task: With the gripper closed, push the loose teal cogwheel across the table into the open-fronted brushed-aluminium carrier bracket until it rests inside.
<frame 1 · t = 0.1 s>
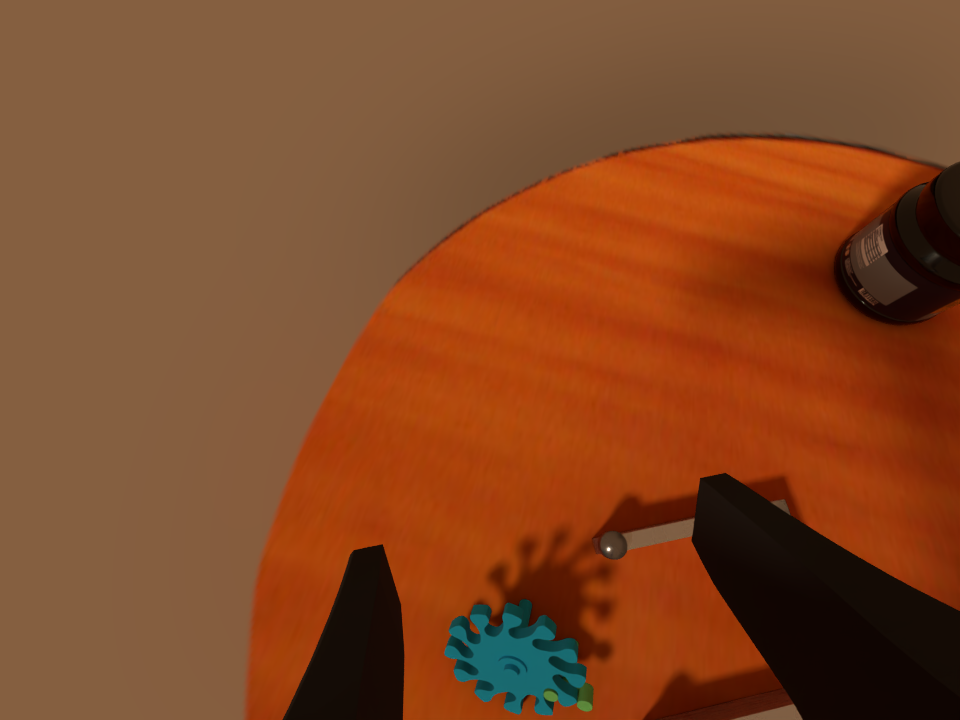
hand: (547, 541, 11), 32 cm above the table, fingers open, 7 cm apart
supplement container: (879, 282, 50), on the table
carrier bracket: (701, 615, 40), on the table
teal cogwheel: (515, 651, 39), on the table
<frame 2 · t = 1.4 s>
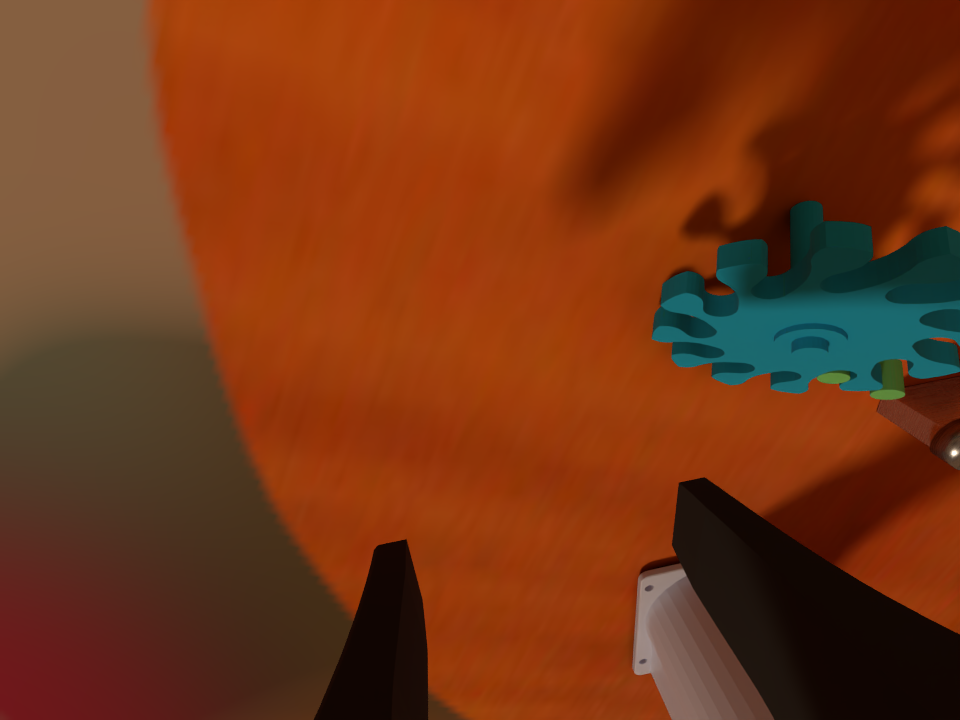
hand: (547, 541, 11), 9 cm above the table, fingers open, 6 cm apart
teal cogwheel: (745, 290, 20), on the table
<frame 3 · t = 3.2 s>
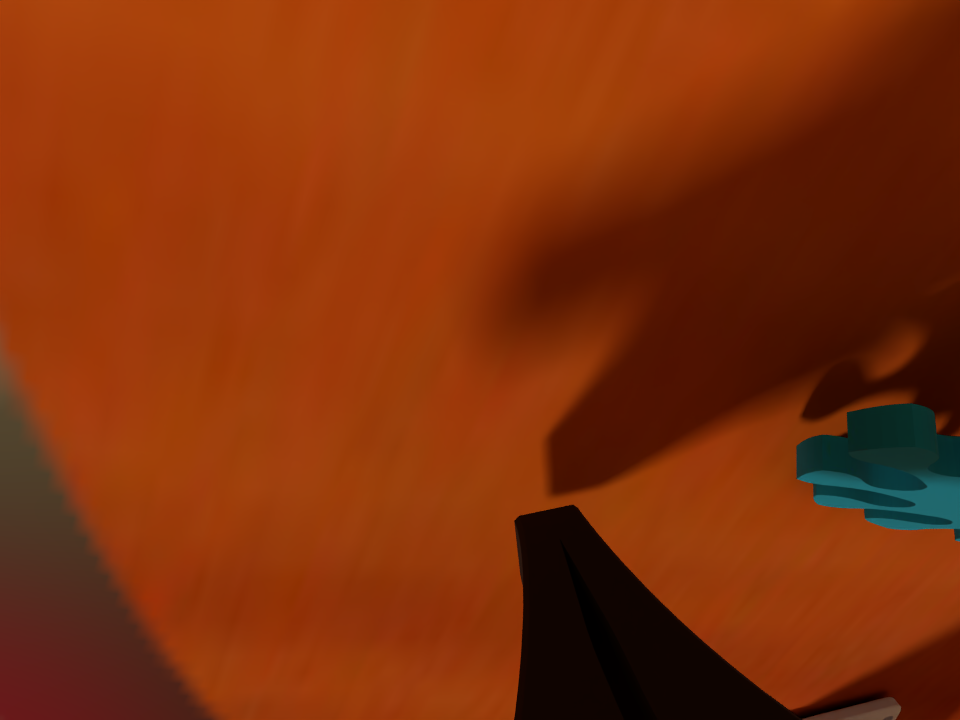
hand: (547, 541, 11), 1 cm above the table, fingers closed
teal cogwheel: (924, 393, 13), on the table
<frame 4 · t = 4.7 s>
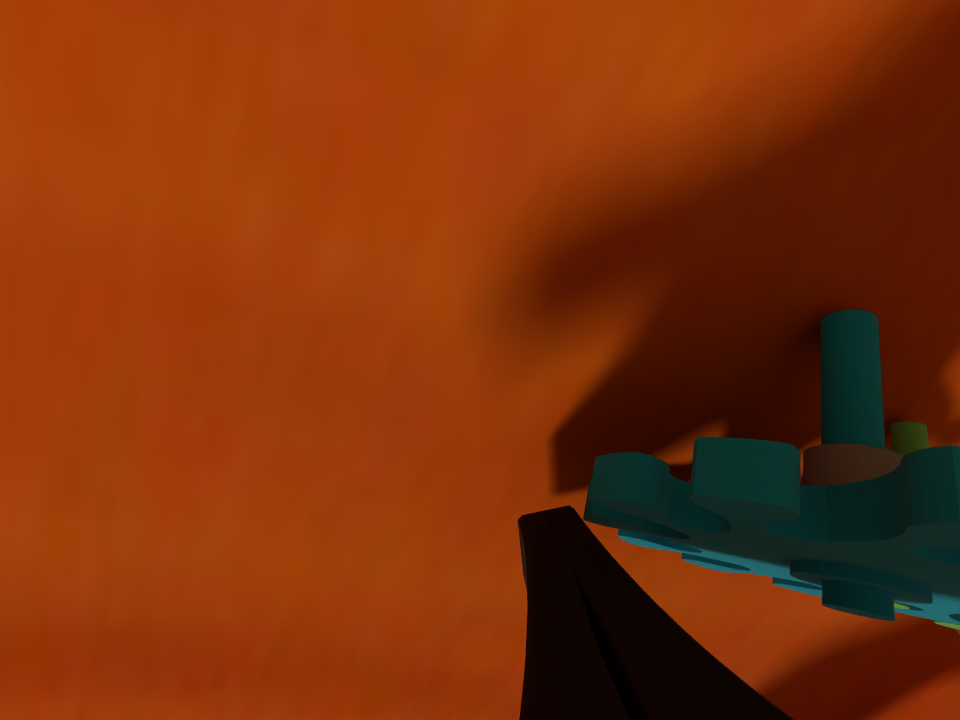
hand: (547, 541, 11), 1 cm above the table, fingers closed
teal cogwheel: (740, 431, 13), on the table, touching gripper
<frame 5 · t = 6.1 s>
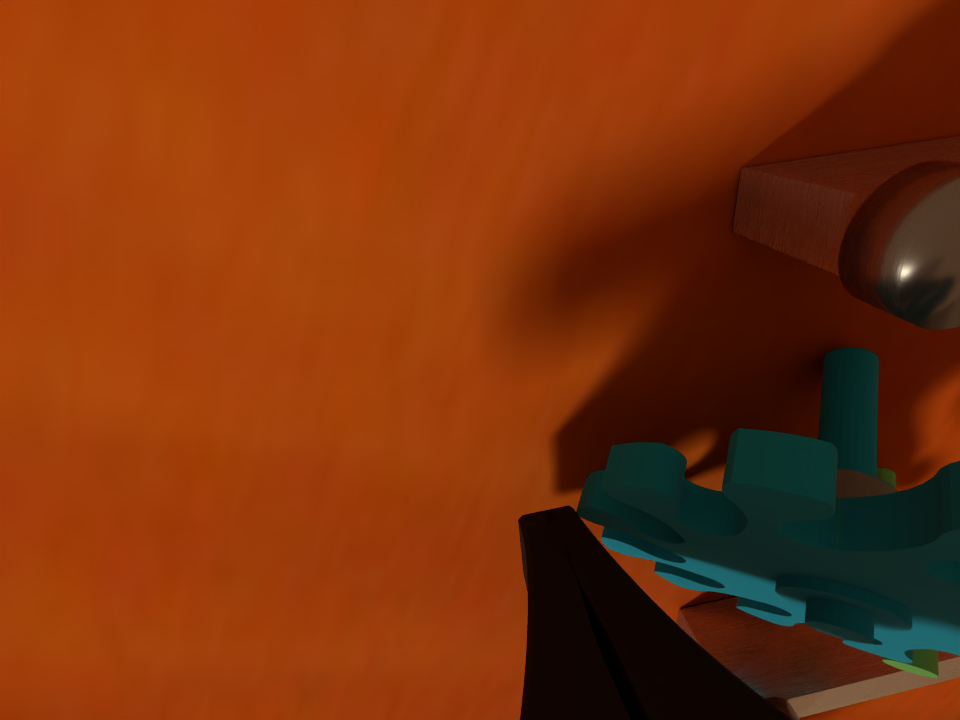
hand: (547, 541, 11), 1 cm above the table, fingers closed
carrier bracket: (945, 414, 13), on the table
teal cogwheel: (729, 453, 13), on the table, touching gripper
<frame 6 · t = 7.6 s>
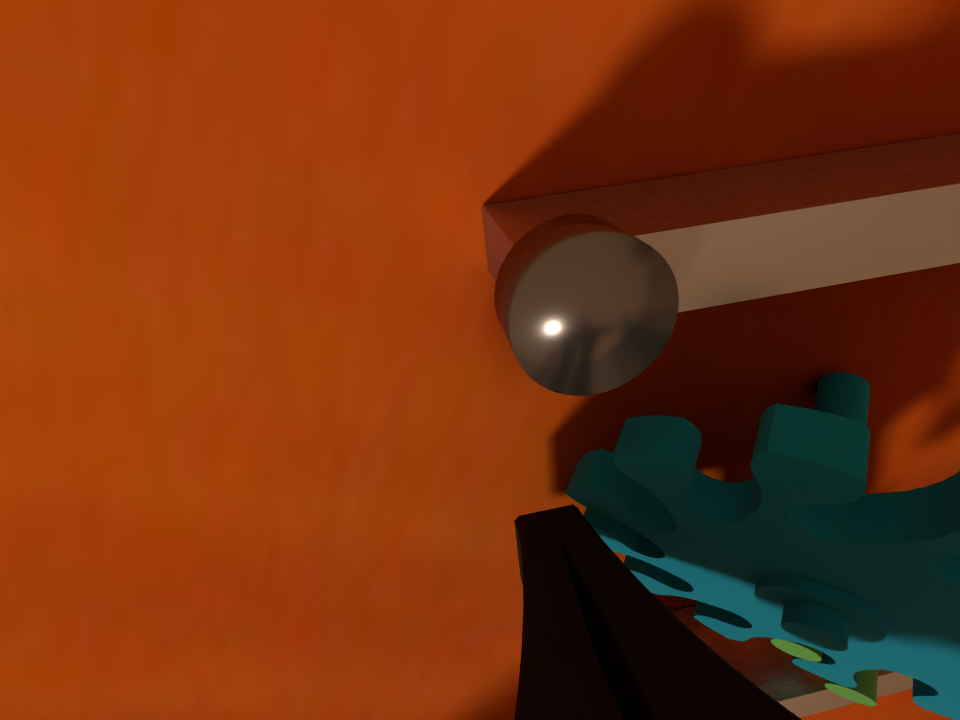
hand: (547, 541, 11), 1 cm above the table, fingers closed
carrier bracket: (776, 447, 13), on the table
teal cogwheel: (712, 462, 13), on the table
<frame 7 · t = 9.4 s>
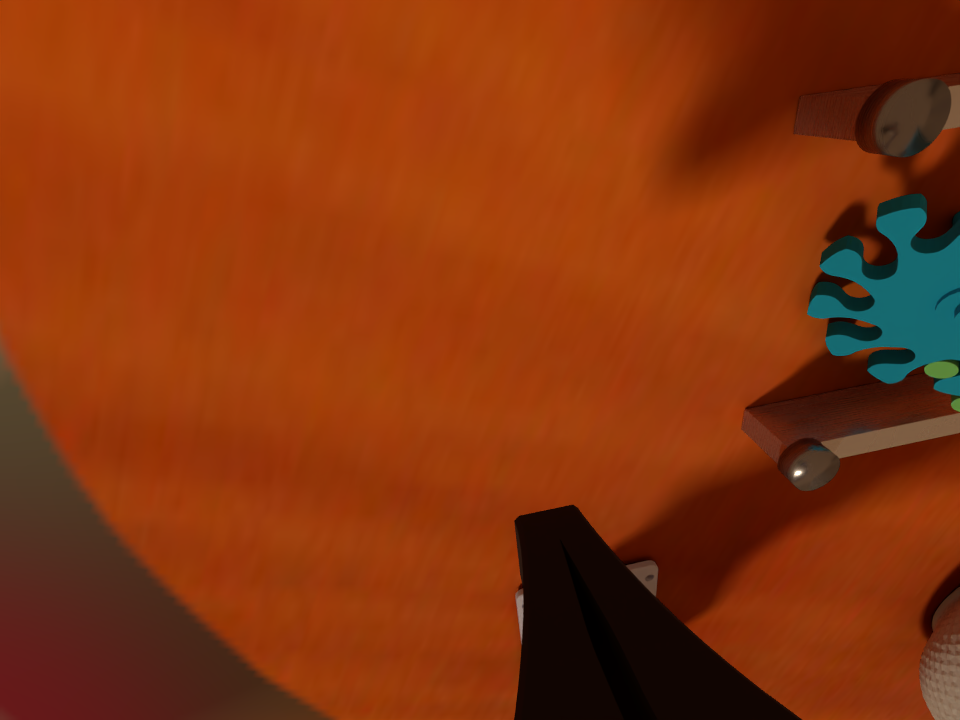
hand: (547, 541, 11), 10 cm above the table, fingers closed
carrier bracket: (918, 263, 21), on the table
teal cogwheel: (880, 274, 22), on the table
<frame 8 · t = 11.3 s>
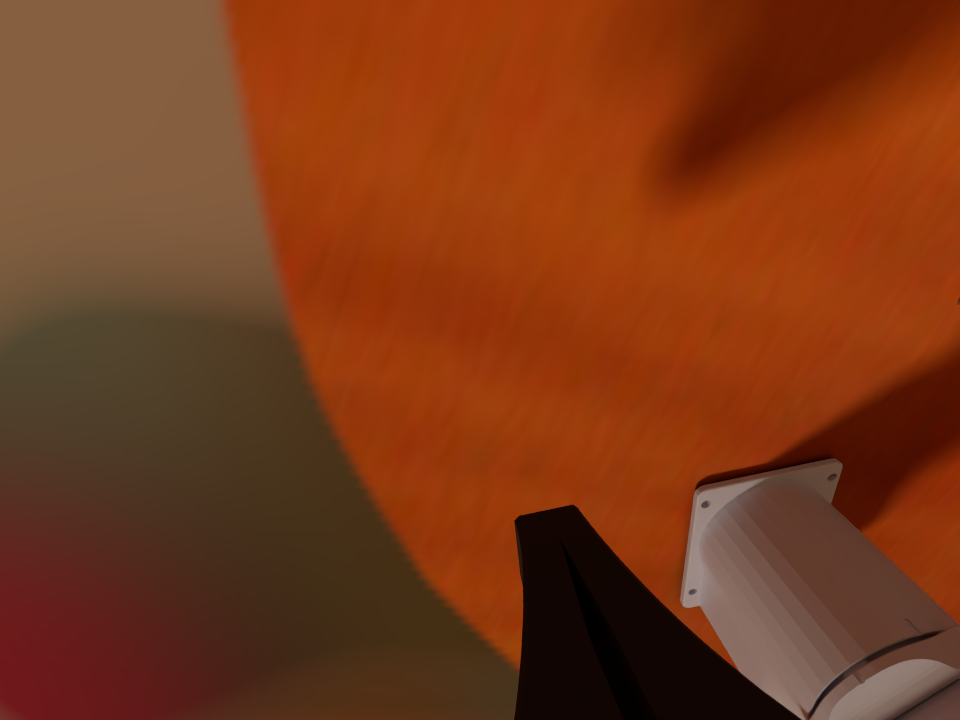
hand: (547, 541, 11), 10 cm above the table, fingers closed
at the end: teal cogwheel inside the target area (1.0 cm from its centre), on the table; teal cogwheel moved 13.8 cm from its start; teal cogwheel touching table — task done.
